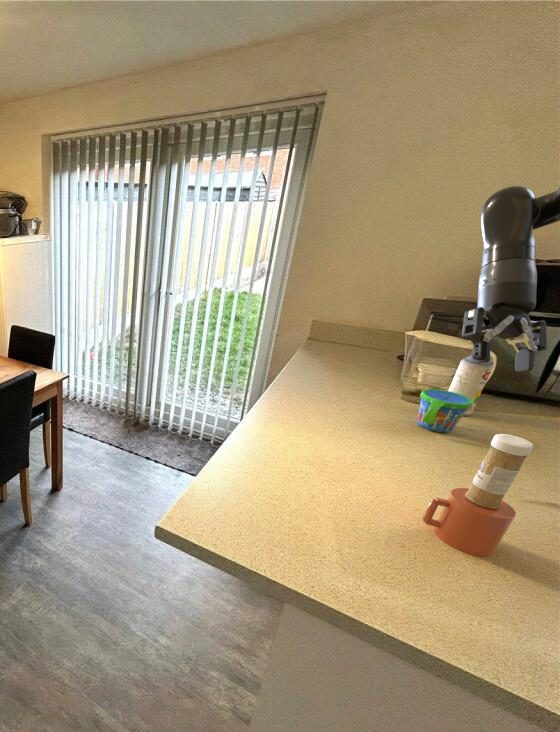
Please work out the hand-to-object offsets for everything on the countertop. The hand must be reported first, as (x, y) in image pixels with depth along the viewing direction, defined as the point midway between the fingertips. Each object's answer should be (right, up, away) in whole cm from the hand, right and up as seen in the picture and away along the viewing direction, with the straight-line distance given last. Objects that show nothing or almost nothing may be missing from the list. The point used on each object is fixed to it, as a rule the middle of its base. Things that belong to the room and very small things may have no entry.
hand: (502, 366), depth 75 cm
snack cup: (+26, -16, +39) cm, 50 cm away
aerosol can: (+41, -12, +48) cm, 65 cm away
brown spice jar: (-7, -25, -3) cm, 26 cm away
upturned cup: (-8, -33, +1) cm, 34 cm away
